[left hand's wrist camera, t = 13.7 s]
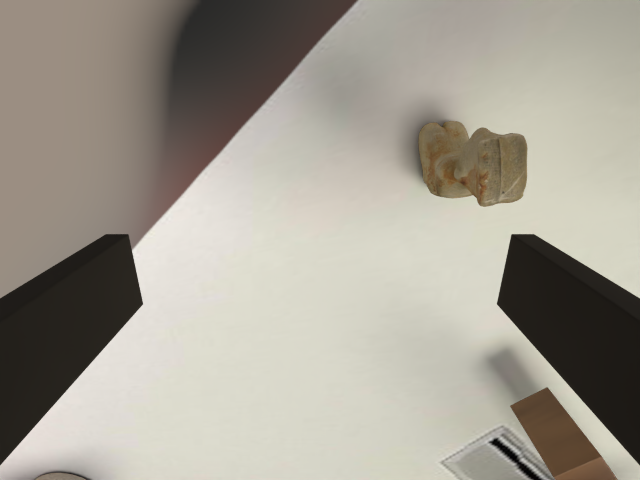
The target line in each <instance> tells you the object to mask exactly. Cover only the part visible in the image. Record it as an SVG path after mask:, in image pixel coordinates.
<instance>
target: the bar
mask: <svg viewBox="0 0 640 480" xmlns="http://www.w3.org/2000/svg"><path fill="white" fill-rule="evenodd" d="M510 407H511V408H512V410H513V412H514V413H515V415H516V417H517V418H518V420H519V421H520V423H521V425H522V426H523V428H524V430H525V431H526V433H527V434H528V436H529V438H530V439H531V441H532V443H533V444H534V446H535V448H536V449H537V451H538V452H539V454H540V456H541V457H542V459H543V461H544V462H545V464H546V466H547V467H548V469H549V470H550V472H551V474H552V475H553V477H554V478H555V480H617V478H616V477H615V475H614V474H613V472H612V471H611V469H610V468H609V466H608V465H607V464H606V462H605V461H604V459H603V458H602V456H601V455H600V454H599V452H598V451H597V450H596V449H595V447H594V446H593V445H592V444H591V442H590V441H589V440H588V438H587V437H586V436H585V435H584V433H583V432H582V431H581V429H580V428H579V427H578V426H577V424H576V423H575V422H574V421H573V419H572V418H571V417H570V415H569V414H568V413H567V412H566V410H565V409H564V408H563V407H562V405H561V404H560V403H559V401H558V400H557V399H556V398H555V396H554V395H553V394H552V392H551V391H550V390H549V389H548V388H545V389H543V390H541V391H539V392H537V393H535V394H533V395H531V396H529V397H527V398H525V399H523V400H521V401H519V402H517V403H515V404H513V405H511V406H510Z"/></svg>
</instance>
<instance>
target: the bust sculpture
mask: <svg viewBox="0 0 640 480" xmlns="http://www.w3.org/2000/svg"><path fill="white" fill-rule="evenodd" d="M35 480H86V479H84V478H82V477H79V476H76V475H72V474H67V473H50V474H45V475H42V476H40V477H38V478H36V479H35Z"/></svg>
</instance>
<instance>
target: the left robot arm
mask: <svg viewBox="0 0 640 480" xmlns="http://www.w3.org/2000/svg"><path fill="white" fill-rule="evenodd" d="M142 305H143V302H142V297H141V292H140V287H139V283H138V278H137V273H136V268H135V264H134V259H133V254H132V249H131V245H130V240H129V235H128V234H106V235H104V236H102V237H101V238H99V239H97V240H96V241H94V242H93V243H91V244H89V245H88V246H86V247H84V248H83V249H81V250H79V251H78V252H76V253H74V254H73V255H71V256H69V257H68V258H66V259H65V260H63V261H61V262H60V263H58V264H56V265H55V266H53V267H51V268H50V269H48V270H46V271H45V272H43V273H41V274H40V275H38V276H37V277H35V278H33V279H32V280H30V281H28V282H27V283H25V284H23V285H22V286H20V287H18V288H17V289H15V290H13V291H12V292H10V293H9V294H7V295H5V296H4V297H2V298H0V465H1V464H2V463H3V461H4V460H5V459H6V458H7V457H8V456H9V455H10V454H11V452H12V451H13V450H14V449H15V448H16V447H17V446H18V445H19V443H20V442H21V441H22V440H23V439H24V438H25V437H26V436H27V434H28V433H29V432H30V431H31V430H32V429H33V428H34V427H35V425H36V424H37V423H38V422H39V421H40V420H41V419H42V418H43V416H44V415H45V414H46V413H47V412H48V411H49V410H50V408H51V407H52V406H53V405H54V404H55V403H56V402H57V401H58V399H59V398H60V397H61V396H62V395H63V394H64V393H65V392H66V390H67V389H68V388H69V387H70V386H71V385H72V384H73V383H74V381H75V380H76V379H77V378H78V377H79V376H80V375H81V374H82V372H83V371H84V370H85V369H86V368H87V367H88V366H89V365H90V363H91V362H92V361H93V360H94V359H95V358H96V357H97V355H98V354H99V353H100V352H101V351H102V350H103V349H104V348H105V346H106V345H107V344H108V343H109V342H110V341H111V340H112V339H113V337H114V336H115V335H116V334H117V333H118V332H119V331H120V330H121V328H122V327H123V326H124V325H125V324H126V323H127V322H128V321H129V319H130V318H131V317H132V316H133V315H134V314H135V313H136V311H137V310H138V309H139V308H140V307H141V306H142ZM497 305H498V306H499V307H500V308H501V309H502V310H503V311H504V313H505V314H506V315H507V316H508V317H509V318H510V319H511V321H512V322H513V323H514V324H515V325H516V326H517V327H518V328H519V330H520V331H521V332H522V333H523V334H524V335H525V336H526V337H527V339H528V340H529V341H530V342H531V343H532V344H533V345H534V346H535V348H536V349H537V350H538V351H539V352H540V353H541V354H542V355H543V357H544V358H545V359H546V360H547V361H548V362H549V363H550V365H551V366H552V367H553V368H554V369H555V370H556V371H557V372H558V374H559V375H560V376H561V377H562V378H563V379H564V380H565V381H566V383H567V384H568V385H569V386H570V387H571V388H572V389H573V390H574V392H575V393H576V394H577V395H578V396H579V397H580V398H581V399H582V401H583V402H584V403H585V404H586V405H587V406H588V407H589V408H590V410H591V411H592V412H593V413H594V414H595V415H596V416H597V418H598V419H599V420H600V421H601V422H602V423H603V424H604V425H605V427H606V428H607V429H608V430H609V431H610V432H611V433H612V434H613V436H614V437H615V438H616V439H617V440H618V441H619V442H620V443H621V445H622V446H623V447H624V448H625V449H626V450H627V451H628V452H629V454H630V455H631V456H632V457H633V458H634V459H635V460H636V461H637V463H638V464H639V465H640V298H638V297H636V296H635V295H633V294H632V293H630V292H628V291H627V290H625V289H623V288H622V287H620V286H618V285H617V284H615V283H613V282H612V281H610V280H608V279H607V278H605V277H604V276H602V275H600V274H599V273H597V272H595V271H594V270H592V269H590V268H589V267H587V266H585V265H584V264H582V263H580V262H579V261H577V260H575V259H574V258H572V257H571V256H569V255H567V254H566V253H564V252H562V251H561V250H559V249H557V248H556V247H554V246H552V245H551V244H549V243H547V242H546V241H544V240H543V239H541V238H539V237H538V236H536V235H534V234H512V235H511V240H510V245H509V249H508V254H507V259H506V264H505V268H504V273H503V278H502V283H501V287H500V292H499V297H498V302H497Z"/></svg>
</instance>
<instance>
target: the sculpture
mask: <svg viewBox="0 0 640 480" xmlns="http://www.w3.org/2000/svg"><path fill="white" fill-rule="evenodd" d="M418 142H419V153H420V159H421V164H422V169H423V179H424V182H425V183H426V184H427V186H428V189H429V191H430V192H431V193H432V194H434V195H436V196H440V197H446V198H460V197H467V196H471V195H474V196H475V197H476V198H477V201H478V203H479V205H480V206H483V207H486V206H491V205H495V204H498V203H511V202H515V201H517V200H519V199H521V198H522V196H523V192H524V189H525V187H526V181H527V143H526V140H525V138H524V136H522V135H520V134H513V133H510V134H506V135H499V134H495V133H492V132H490V131H489V130H488V129H486V128H479V129H477V130H476V131H475V132H474V134H473V135H472V136H471V138H470V139H469V137H468V134H467V131H466V129H465V127H464V125H463V124H462V123H460V122H457V121H449V122H445V123H444V124H443V127H441V126H440V125H439V124H438V123H429V124H427V125H425V126H424V127H423V128H422V129H421V131H420V134H419V140H418Z"/></svg>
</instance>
